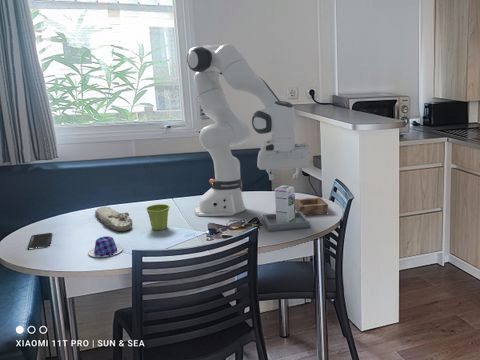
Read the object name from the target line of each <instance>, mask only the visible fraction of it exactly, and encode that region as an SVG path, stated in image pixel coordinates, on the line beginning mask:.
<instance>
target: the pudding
mask: <svg viewBox="0 0 480 360" xmlns="http://www.w3.org/2000/svg"><path fill="white" fill-rule="evenodd" d="M117 248H119V251H118V250H117ZM123 250H124V247H123V246H122V245H120V244H116V242H115V239H114V237H112V236H106V235H105V236H100V237H98V238H97V239H96V240H95V243H94V247H93V248H91V249H90V250H89V251H88V255H89V256H90V257H94V258H106V257H108V256H109V255H110V256H109V257H111V256H112V257H113V256H115V255H118V254H119V253H121V252H122V251H123ZM116 252H117V253H116ZM93 253H95V254H93ZM111 254H113V255H111ZM96 255H99V256H96ZM105 255H106V256H105ZM101 256H102V257H101Z"/></svg>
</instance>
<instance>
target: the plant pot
mask: <svg viewBox="0 0 480 360" xmlns="http://www.w3.org/2000/svg"><path fill="white" fill-rule="evenodd" d="M170 207H171V206H170V205H168V204H165V203H164V204H163V203H160V204H157V203H156V204H152V205H149V206H147V207H145V210H146V211H147V214H148V217H149V223H150V226H151V229H152V230H154V231H159V230H160V231H163V230H166V229H167V228H168V218H169V211H170Z"/></svg>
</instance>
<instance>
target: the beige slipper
mask: <svg viewBox="0 0 480 360" xmlns="http://www.w3.org/2000/svg"><path fill="white" fill-rule="evenodd" d="M94 215H95V216H96V218H97V219H99V220H100V221H101V224H104V225H105V226H107V227H108V228H110V229H111V230H112V231H119V232H124V231H128V230H131V228H132V227H133V220H132V218H131V217H130V213H129V212H119V211H117V210H115V209H113V208H111V207H110V206H102V207H101V206H100V207H99V208H97V209H96V210H95V213H94Z"/></svg>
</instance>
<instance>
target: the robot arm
mask: <svg viewBox="0 0 480 360" xmlns="http://www.w3.org/2000/svg"><path fill="white" fill-rule="evenodd" d="M186 62H187V66H188V67H189V69H190V70H191V71H193V72H195V73H194V75H193V83H194V87H195V93H196V95H197V98H198V101H199V104H200V106H201V107H200V108H201V109H202V111H203V114H204V115H205V116H206V117H207V118H210V119H211V120H212V121H213V122H215V123H211V124H209V125H207V126H204V127H203V128H201V130H200V132H199V136H198V137H199V138H198V140H199V142H200V144H201V146H202V147H203V148H204V149H205V150H207V152H208V153H209V155H210V157H211V159H212V162H213V168H214V169H213V170H214V178H210V179H209V184H210V187H211V188H210V189H208V190H207V191H206V192H205V193H204V194H202V195H201V196H200V199H199V203H198V206H196V207H195V209H194V214H195V215H196V216H198V217H223V216H224V217H227V216H229V217H230V216H235V215H236V214H239V213H242V212H244V211H245V210H246V206H245V203H244V200H243V199H244V198H243V193H242V191H243V182H242V177H241V163H240V160H239V158H237V157H236V156H234V155H233V154H232V151H231V147H235V146H240V145H242V144H245V143H247V142H248V141H249V140H250V137H251V128H250V126H249V124H248V123H247V122H245V121H244V120H242V119H241V118H239V117H238V115H236V113H235V112H234V111H233V110H232V109H231V107H230V105H229V103H228V101H227V98H226V96H225V93H224V91H223V88H222V86H221V84H220V83H221V82H220V80H219V77H220V75H222V76H223V78H224V80H225V81H226V83H227V84H228V86H229V87H231V88H232V89H233V90H236V91H238V92H239V91H240V92H244V93H248V94H250V95H253V96H255V97H256V98H258V99H259V100H260V102H261V103H262V105H264V107H265V108H262V109H259V110H257V111H255V112H254V113H253V115H252V118H251V125H252V129H253V130H254V131H255V132H256V134H259V135H267V134H268V135H269V134H271V139H269V140H266V141H264V142H261V143H260V144H259V146H260V147H259V148H260V150H259V151H258V154H257V162H256V163H257V164H256V165H257V168H258V169H259V170H261V171H262V170H265V171H266V172H267V174H268V177H269V178H268V179H269V181H274V178H275V177H274V176H275V175H273V174H272V173H271V171H272V170H281V169H283V170H284V169H295V170H296V171H295V173H292V175H293V176H292V178H293V180H298V179H299V177H298V175H299V174H300V172H301V171H302V170H301V168H309V167H310V164H311V163H310V162H311V161H310V152H311V147H310V145H309V144H307V143H296V134H295V128H296V111H295V108H294V105H293V104H292V103H291V102H288V101H283V100H280V99H279V98H278V96H277V95H276V93H274V91H273V90H272V88H271V87H270V86H269V85H268V83H267V82H266V81H265V80H264V79H263V78H262V77H261V76H259V75H258V74H257V72H255V71H254V69H252V67H251V66H250V64H249V63H248V61H247V60H246V58H245V57H244V56H243V54H242V52H241V51H239V50H238V48H237V47H236V46H235V45H234V44H232V43H231V44H230V43H225V44H221V45H220V44H209V45H208V44H207V45H201V46H200V45H198V46H193V47H191V48H190V49H189V51H188V52H187V56H186Z"/></svg>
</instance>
